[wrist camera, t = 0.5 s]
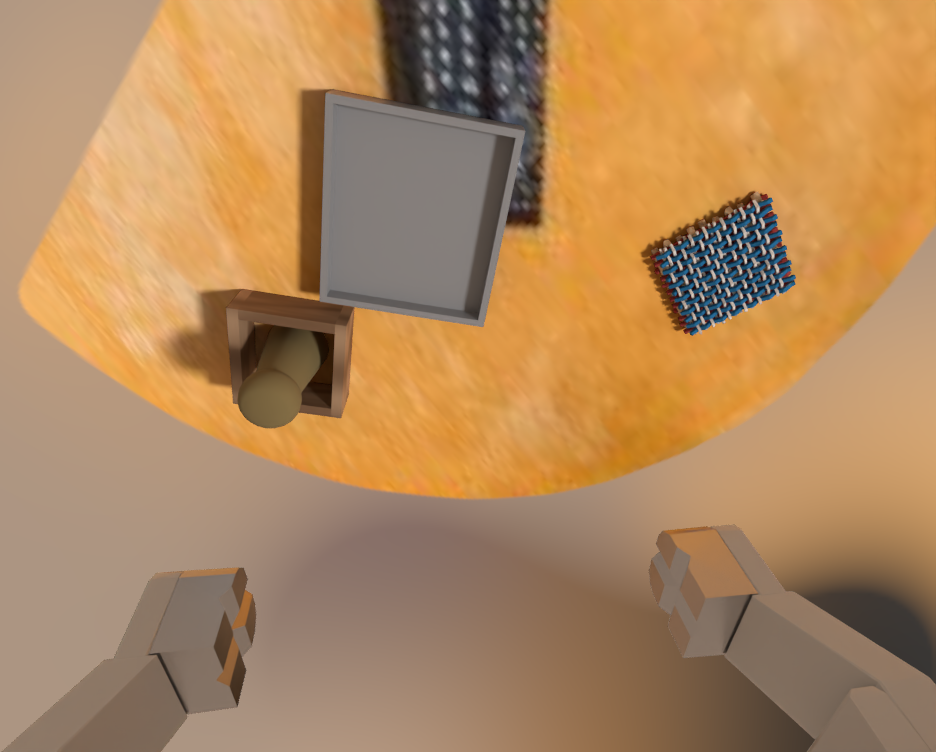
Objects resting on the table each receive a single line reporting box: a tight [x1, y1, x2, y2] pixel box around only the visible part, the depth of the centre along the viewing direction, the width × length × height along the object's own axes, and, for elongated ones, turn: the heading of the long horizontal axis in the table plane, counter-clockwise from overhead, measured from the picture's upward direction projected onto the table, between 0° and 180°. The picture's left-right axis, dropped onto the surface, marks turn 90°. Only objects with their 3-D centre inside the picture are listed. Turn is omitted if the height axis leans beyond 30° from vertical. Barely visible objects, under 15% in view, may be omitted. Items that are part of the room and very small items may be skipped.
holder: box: [226, 289, 354, 418], centre depth 53 cm, size 10×10×4 cm
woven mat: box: [650, 192, 796, 335], centre depth 49 cm, size 10×11×2 cm
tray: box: [320, 89, 525, 327], centre depth 46 cm, size 17×15×2 cm
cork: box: [237, 325, 329, 428], centre depth 50 cm, size 6×6×11 cm
